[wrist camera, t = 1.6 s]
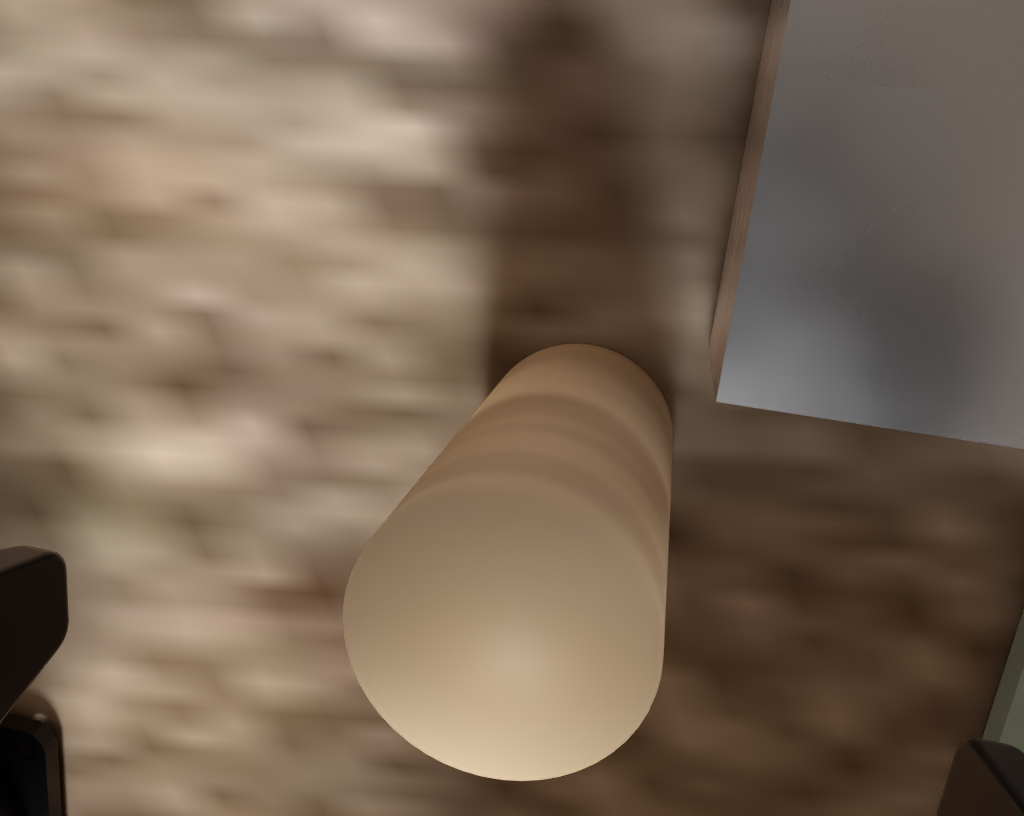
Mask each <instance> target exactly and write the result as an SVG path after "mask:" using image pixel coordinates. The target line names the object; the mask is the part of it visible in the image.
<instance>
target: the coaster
mask: <svg viewBox="0 0 1024 816" xmlns="http://www.w3.org/2000/svg"><path fill="white" fill-rule="evenodd" d="M982 739H984V740H989V741H994V742H1000V743H1005V744H1009V745H1012V746H1014V747H1016V748H1018V749H1019V750H1021V751H1022V752H1023V753H1024V609H1023V612H1022V616H1021V619H1020V622H1019V625H1018V628H1017V631H1016V634H1015V637H1014V640H1013V644H1012V647H1011V650H1010V653H1009V656H1008V659H1007V662H1006V665H1005V668H1004V672H1003V675H1002V678H1001V681H1000V684H999V687H998V690H997V693H996V696H995V700H994V703H993V706H992V709H991V712H990V715H989V718H988V721H987V724H986V728H985V731H984V734H983V737H982Z"/></svg>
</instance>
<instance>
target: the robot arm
mask: <svg viewBox="0 0 1024 816" xmlns="http://www.w3.org/2000/svg"><path fill="white" fill-rule="evenodd" d="M68 624H69V615H68V594H67V573H66V564H65V561H64V559H63V558H62V556H61V555H59V554H58V553H57V552H54V551H50V550H45V549H40V548H35V547H30V546H17V547H12V548H7V549H2V550H0V816H62V810H61V792H60V775H59V758H58V743H57V739H56V736H55V734H54V733H53V731H52V730H51V729H50V728H49V727H48V726H47V725H45V724H44V723H42V722H39V721H37V720H33V719H28V718H24V717H20V716H16V715H11V714H8V713H9V711H10V710H11V709H12V707H13V706H14V705H15V704H16V702H17V701H18V700H19V698H20V697H21V696H22V695H23V693H24V692H25V691H26V689H27V688H28V687H29V686H30V684H31V683H32V682H33V681H34V679H35V678H36V677H37V675H38V674H39V673H40V672H41V670H42V669H43V668H44V666H45V665H46V664H47V663H48V661H49V660H50V659H51V658H52V656H53V655H54V654H55V652H56V651H57V650H58V649H59V647H60V646H61V644H62V642H63V640H64V638H65V636H66V633H67V629H68ZM937 816H1024V753H1023V752H1022V751H1021V750H1019V749H1018V748H1016V747H1014V746H1012V745H1009V744H1005V743H1000V742H994V741H989V740H984V739H979V738H973V737H969V738H966V739H965V740H963V741H962V742H961V743H960V745H959V746H958V748H957V750H956V753H955V756H954V759H953V762H952V766H951V769H950V772H949V775H948V778H947V782H946V785H945V788H944V791H943V794H942V798H941V801H940V804H939V807H938V811H937Z"/></svg>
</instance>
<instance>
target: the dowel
mask: <svg viewBox="0 0 1024 816" xmlns="http://www.w3.org/2000/svg"><path fill="white" fill-rule="evenodd" d="M672 462H673V425H672V419H671V415H670V412H669V408H668V405H667V403H666V401H665V399H664V397H663V395H662V393H661V391H660V390H659V388H658V387H657V385H656V384H655V382H654V381H653V380H652V379H651V378H650V376H649V375H648V374H647V373H646V372H645V371H644V370H643V369H642V368H640V367H639V366H638V365H637V364H636V363H634V362H633V361H631V360H630V359H628V358H627V357H625V356H623V355H621V354H619V353H617V352H615V351H612V350H609V349H607V348H604V347H600V346H595V345H590V344H579V343H575V344H562V345H556V346H551V347H548V348H545V349H542V350H539V351H537V352H535V353H533V354H531V355H529V356H527V357H526V358H524V359H523V360H521V361H520V362H519V363H517V364H516V365H515V366H514V367H513V368H512V369H510V371H509V372H508V373H507V374H506V375H505V376H504V377H503V379H502V380H501V381H500V382H499V383H498V385H497V386H496V387H495V388H494V389H493V391H492V392H491V393H490V394H489V396H488V397H487V398H486V399H485V400H484V402H483V403H482V404H481V405H480V406H479V408H478V409H477V410H476V411H475V413H474V414H473V415H472V416H471V417H470V419H469V420H468V421H467V422H466V423H465V425H464V426H463V427H462V428H461V430H460V431H459V432H458V433H457V434H456V436H455V437H454V438H453V439H452V440H451V442H450V443H449V444H448V445H447V447H446V448H445V449H444V450H443V451H442V453H441V454H440V455H439V456H438V458H437V459H436V460H435V461H434V462H433V464H432V465H431V466H430V467H429V468H428V470H427V471H426V472H425V473H424V475H423V476H422V477H421V478H420V479H419V481H418V482H417V483H416V484H415V485H414V487H413V488H412V489H411V490H410V492H409V493H408V494H407V495H406V496H405V498H404V499H403V500H402V501H401V502H400V504H399V505H398V506H397V507H396V509H395V510H394V511H393V512H392V513H391V515H390V516H389V517H388V518H387V520H386V521H385V522H384V523H383V524H382V526H381V527H380V528H379V529H378V530H377V532H376V533H375V534H374V535H373V537H372V538H371V539H370V540H369V541H368V543H367V544H366V546H365V547H364V549H363V550H362V552H361V553H360V555H359V557H358V558H357V560H356V563H355V565H354V567H353V569H352V571H351V574H350V576H349V580H348V584H347V587H346V591H345V596H344V604H343V632H344V639H345V645H346V650H347V653H348V657H349V660H350V663H351V666H352V669H353V671H354V673H355V676H356V678H357V680H358V683H359V684H360V686H361V688H362V689H363V691H364V693H365V695H366V696H367V698H368V700H369V701H370V702H371V704H372V705H373V706H374V708H375V709H376V710H377V712H378V713H379V714H380V715H381V717H382V718H383V719H384V720H385V721H386V722H387V723H388V724H389V725H390V726H391V727H392V728H393V729H394V730H395V731H396V732H397V733H399V734H400V735H401V736H402V737H403V738H404V739H406V740H407V741H408V742H409V743H411V744H412V745H414V746H415V747H416V748H418V749H419V750H421V751H422V752H424V753H425V754H427V755H429V756H431V757H433V758H435V759H436V760H438V761H440V762H442V763H444V764H447V765H449V766H452V767H454V768H456V769H459V770H461V771H465V772H468V773H472V774H475V775H479V776H482V777H488V778H494V779H500V780H513V781H531V780H544V779H549V778H555V777H561V776H564V775H567V774H570V773H574V772H577V771H580V770H582V769H584V768H586V767H589V766H591V765H593V764H595V763H597V762H599V761H600V760H602V759H603V758H605V757H607V756H608V755H610V754H611V753H613V752H614V751H615V750H616V749H617V748H619V747H620V746H621V745H622V744H623V743H625V742H626V741H627V740H628V739H629V737H630V736H631V735H632V734H633V733H634V732H635V731H636V729H637V728H638V727H639V726H640V724H641V723H642V721H643V720H644V718H645V716H646V715H647V713H648V712H649V710H650V708H651V705H652V703H653V701H654V698H655V696H656V694H657V690H658V687H659V683H660V679H661V675H662V666H663V656H664V635H665V614H666V592H667V570H668V548H669V527H670V505H671V483H672Z"/></svg>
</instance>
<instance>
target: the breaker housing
mask: <svg viewBox="0 0 1024 816" xmlns="http://www.w3.org/2000/svg"><path fill="white" fill-rule="evenodd" d="M709 347H710V356H711V364H712V373H713V381H714V390H715V398H716V402H721V403H727V404H734V405H740V406H746V407H753V408H759V409H766V410H772V411H779V412H785V413H792V414H798V415H805V416H811V417H817V418H824V419H830V420H837V421H843V422H850V423H856V424H863V425H869V426H876V427H882V428H888V429H895V430H901V431H908V432H914V433H921V434H927V435H934V436H940V437H946V438H953V439H959V440H966V441H972V442H979V443H985V444H992V445H998V446H1005V447H1011V448H1017V449H1024V0H771V5H770V11H769V16H768V22H767V27H766V33H765V39H764V44H763V50H762V55H761V61H760V66H759V72H758V77H757V83H756V88H755V94H754V99H753V105H752V111H751V116H750V122H749V127H748V133H747V138H746V144H745V149H744V155H743V160H742V166H741V172H740V177H739V183H738V188H737V194H736V199H735V205H734V210H733V216H732V221H731V227H730V233H729V238H728V244H727V249H726V255H725V260H724V266H723V271H722V277H721V282H720V288H719V293H718V299H717V305H716V310H715V316H714V321H713V327H712V332H711V338H710V343H709Z"/></svg>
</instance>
